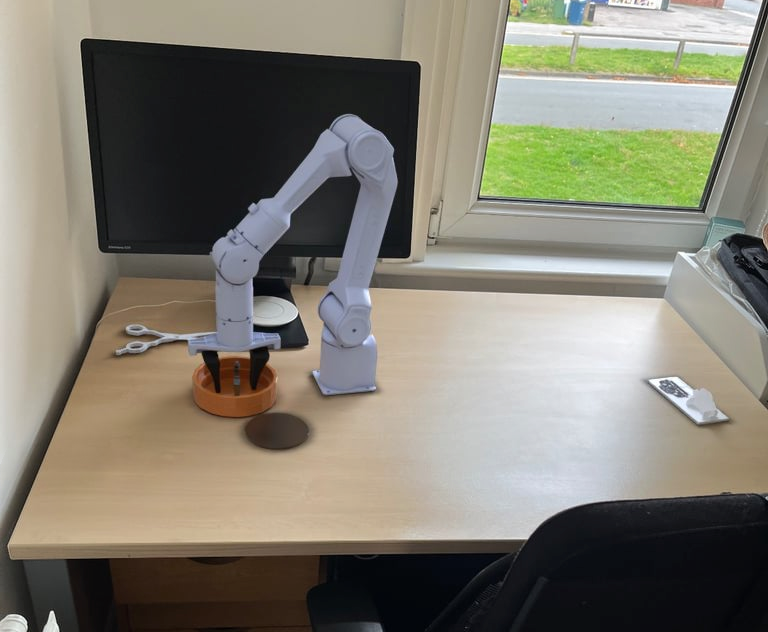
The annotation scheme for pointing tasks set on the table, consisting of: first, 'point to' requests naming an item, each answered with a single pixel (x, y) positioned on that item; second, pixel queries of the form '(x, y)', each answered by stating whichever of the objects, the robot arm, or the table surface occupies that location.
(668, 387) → the white piece
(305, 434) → the coaster
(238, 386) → the wooden post with brackets
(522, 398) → the table surface
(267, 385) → the bowl
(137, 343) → the scissors
